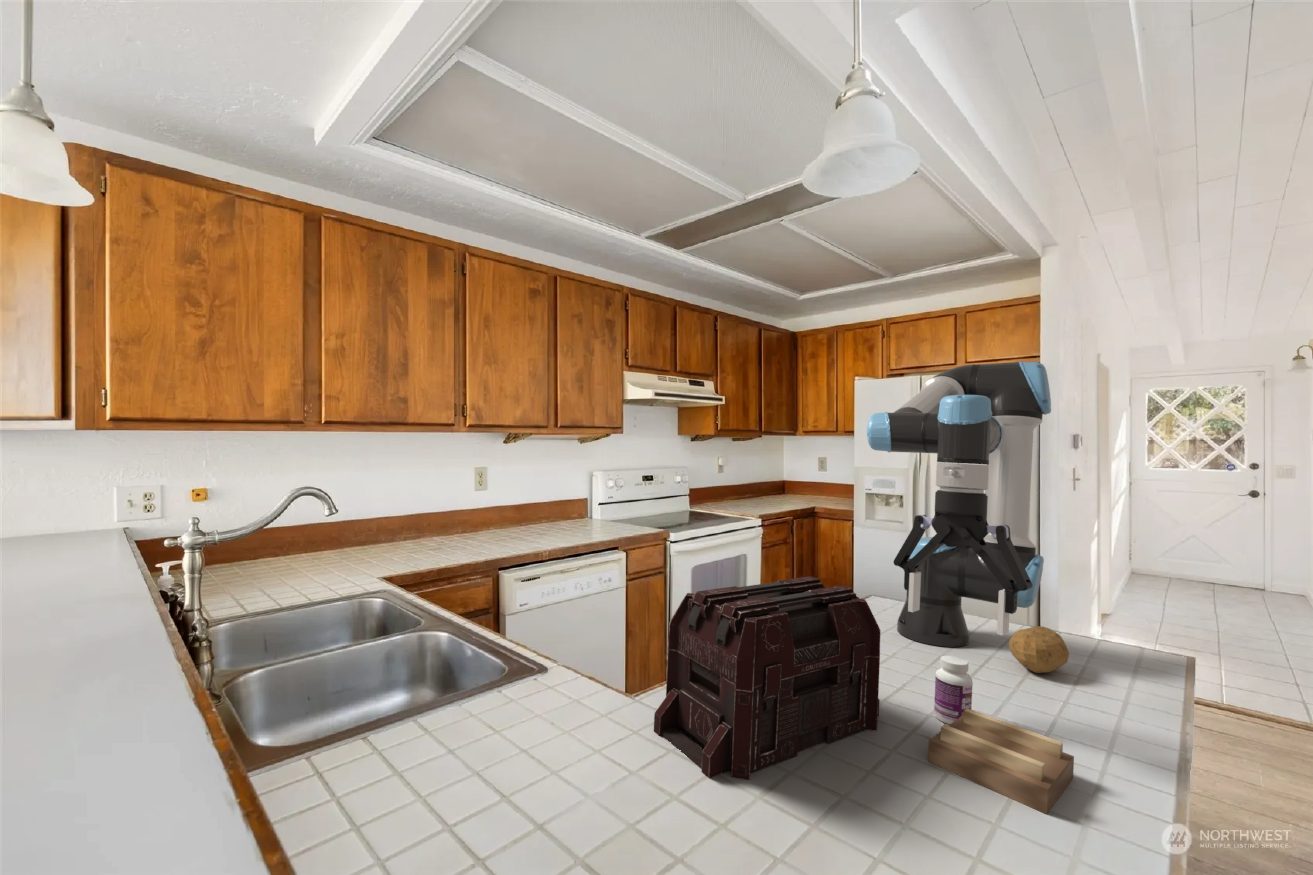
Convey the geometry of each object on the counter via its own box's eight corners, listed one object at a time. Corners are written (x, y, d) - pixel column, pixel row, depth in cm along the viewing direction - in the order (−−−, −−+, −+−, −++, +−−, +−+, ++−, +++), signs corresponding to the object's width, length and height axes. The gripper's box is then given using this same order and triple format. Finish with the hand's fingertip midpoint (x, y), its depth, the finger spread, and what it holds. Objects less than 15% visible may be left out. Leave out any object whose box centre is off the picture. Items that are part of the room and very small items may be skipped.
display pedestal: (928, 761, 78) (929, 726, 78) (962, 734, 86) (963, 703, 86) (1046, 814, 68) (1048, 774, 68) (1073, 778, 76) (1074, 742, 76)
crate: (722, 791, 70) (729, 623, 70) (643, 723, 85) (649, 586, 86) (894, 724, 89) (899, 592, 89) (803, 679, 104) (808, 567, 105)
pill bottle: (970, 731, 87) (972, 669, 87) (932, 721, 90) (934, 660, 90) (971, 717, 92) (974, 658, 92) (935, 708, 95) (938, 651, 95)
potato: (997, 670, 113) (999, 630, 113) (1020, 655, 122) (1021, 618, 122) (1055, 687, 105) (1057, 645, 106) (1075, 670, 115) (1076, 631, 115)
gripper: (876, 484, 98) (871, 605, 98) (1044, 498, 79) (1038, 649, 79) (897, 483, 103) (891, 599, 103) (1059, 497, 84) (1054, 639, 84)
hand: (955, 621), depth 91 cm, fingers open, 13 cm apart
